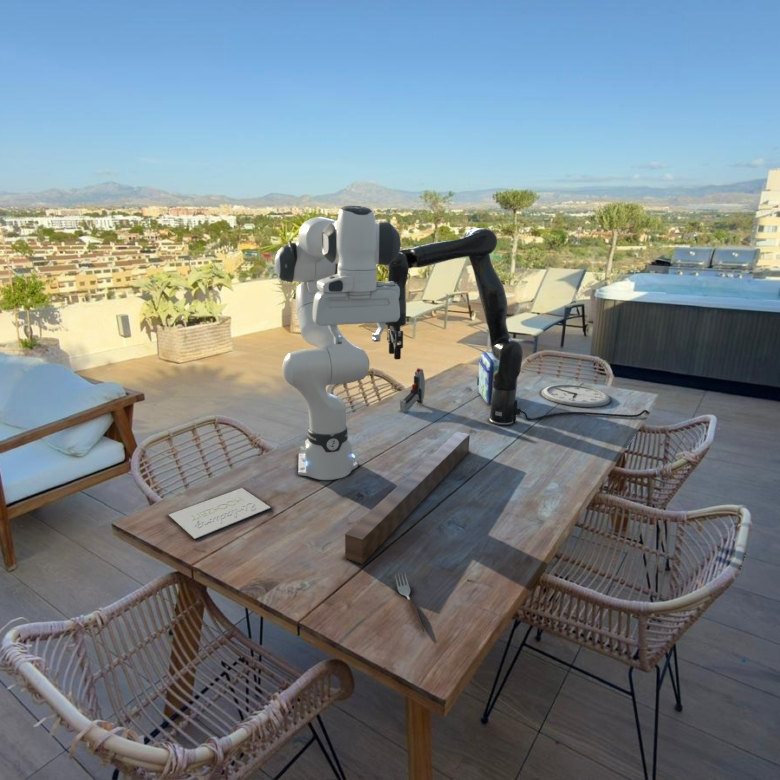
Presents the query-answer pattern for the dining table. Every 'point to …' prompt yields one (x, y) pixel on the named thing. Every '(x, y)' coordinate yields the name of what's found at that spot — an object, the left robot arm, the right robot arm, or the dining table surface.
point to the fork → (406, 591)
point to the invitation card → (218, 512)
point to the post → (403, 500)
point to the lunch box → (487, 375)
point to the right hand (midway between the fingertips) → (394, 356)
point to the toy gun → (414, 392)
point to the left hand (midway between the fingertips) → (357, 342)
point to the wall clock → (575, 395)
